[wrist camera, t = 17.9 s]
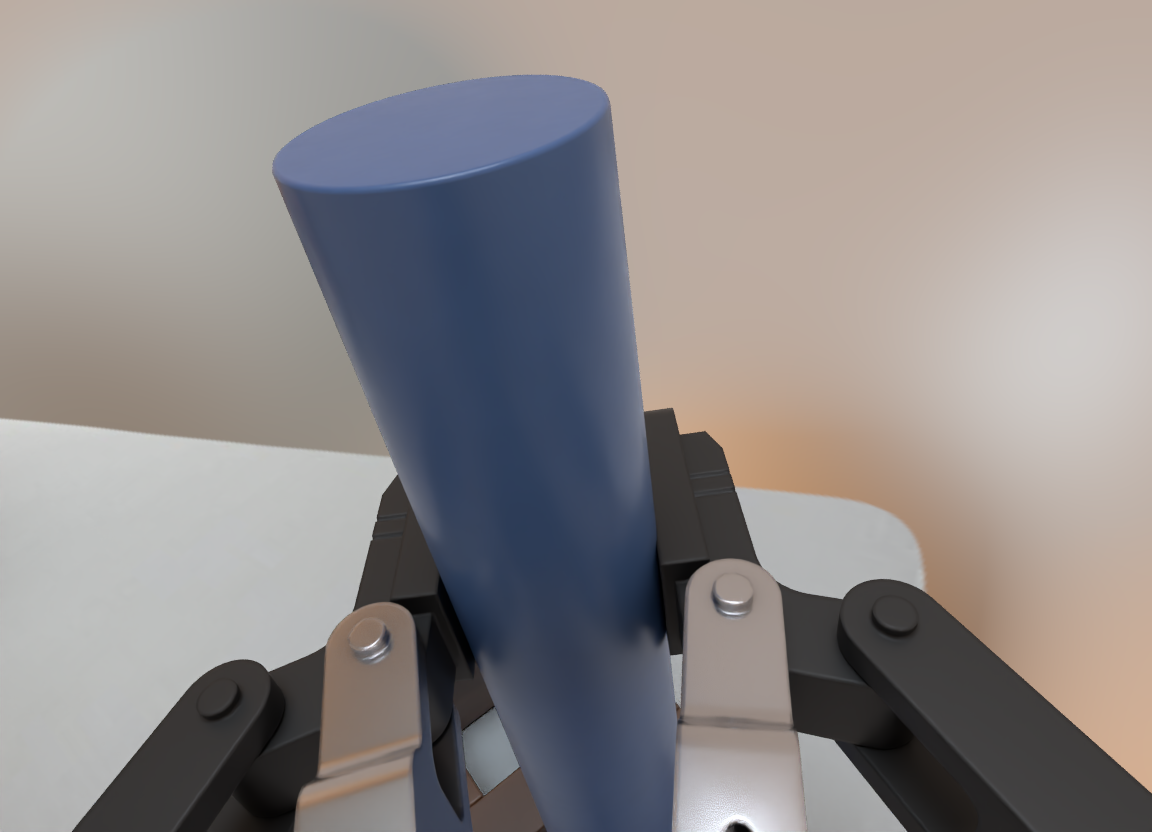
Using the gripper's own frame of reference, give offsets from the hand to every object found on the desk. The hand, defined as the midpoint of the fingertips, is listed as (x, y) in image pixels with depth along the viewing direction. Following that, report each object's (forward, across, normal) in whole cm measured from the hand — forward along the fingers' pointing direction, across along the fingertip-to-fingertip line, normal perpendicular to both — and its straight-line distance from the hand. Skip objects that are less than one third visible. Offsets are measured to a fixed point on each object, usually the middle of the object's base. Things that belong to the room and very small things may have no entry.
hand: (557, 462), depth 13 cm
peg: (-3, 0, -9) cm, 9 cm away
